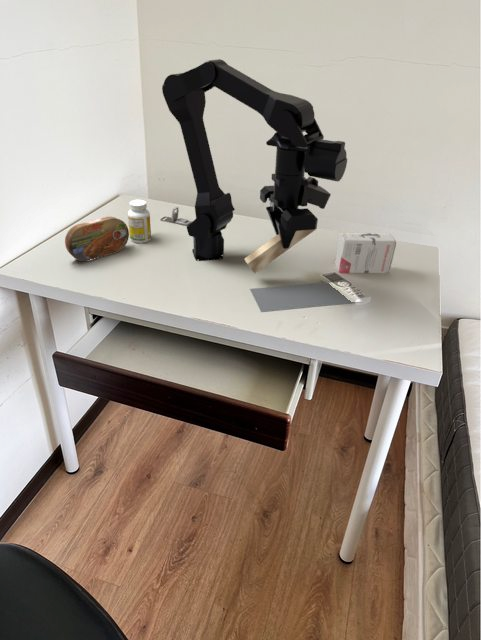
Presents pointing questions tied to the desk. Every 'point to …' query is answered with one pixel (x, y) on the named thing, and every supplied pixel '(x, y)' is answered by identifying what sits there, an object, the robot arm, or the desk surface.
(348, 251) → the ink box
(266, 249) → the beech stick
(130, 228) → the supplement bottle
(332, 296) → the tool mat
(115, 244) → the tin
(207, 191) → the robot arm
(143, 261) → the desk surface
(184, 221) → the strap clip
